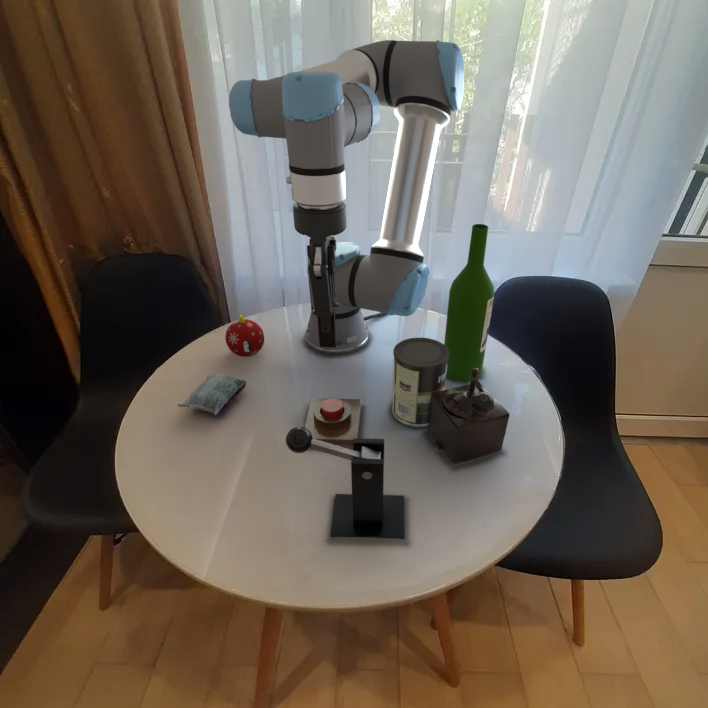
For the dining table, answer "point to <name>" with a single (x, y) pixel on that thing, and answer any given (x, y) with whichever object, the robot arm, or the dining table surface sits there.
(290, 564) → the dining table surface
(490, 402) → the brown coffee grinder
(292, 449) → the lever
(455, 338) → the wine bottle
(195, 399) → the packaged food
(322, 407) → the button
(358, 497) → the bracket
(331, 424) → the button block
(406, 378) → the coffee can
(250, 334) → the christmas ornament
